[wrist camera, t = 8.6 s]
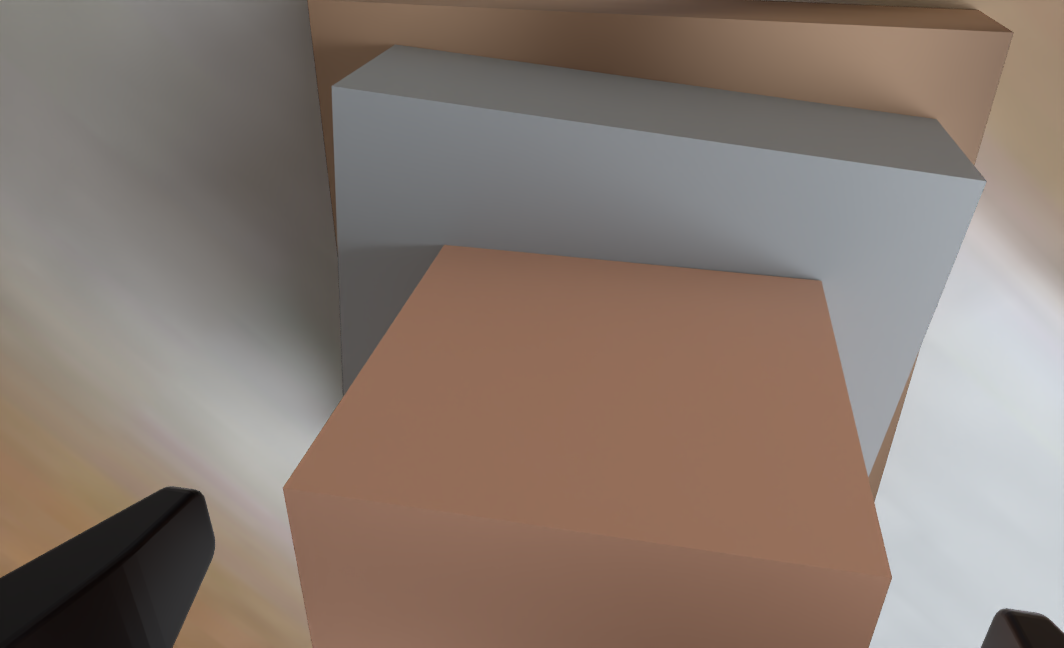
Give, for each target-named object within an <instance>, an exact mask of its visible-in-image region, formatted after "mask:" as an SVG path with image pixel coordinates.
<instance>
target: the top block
mask: <svg viewBox="0 0 1064 648" xmlns="http://www.w3.org/2000/svg"><path fill="white" fill-rule="evenodd" d="M332 111H333V138H334V165H335V192H336V218H337V245H338V272H339V299H340V325H341V352H342V379H343V397H344V395H345V394H346V392H347V391H348V389H349V388H350V386H351V385H352V383H353V381H354V380H355V378H356V377H357V375H358V374H359V372H360V371H361V369H362V368H363V366H364V365H365V363H366V362H367V360H368V359H369V357H370V356H371V354H372V353H373V351H374V350H375V348H376V347H377V345H378V344H379V342H380V341H381V339H382V338H383V336H384V335H385V333H386V332H387V330H388V329H389V327H390V326H391V324H392V323H393V321H394V320H395V318H396V317H397V315H398V314H399V312H400V311H401V309H402V308H403V306H404V305H405V303H406V302H407V300H408V299H409V297H410V296H411V294H412V293H413V291H414V290H415V288H416V287H417V285H418V284H419V282H420V281H421V279H422V278H423V276H424V275H425V273H426V271H427V270H428V268H429V267H430V265H431V264H432V262H433V261H434V259H435V258H436V256H437V255H438V253H439V252H440V250H441V249H442V247H443V246H444V245H451V246H462V247H473V248H484V249H494V250H505V251H515V252H526V253H536V254H547V255H557V256H568V257H578V258H589V259H599V260H610V261H620V262H631V263H641V264H651V265H662V266H672V267H683V268H693V269H704V270H714V271H725V272H735V273H746V274H756V275H767V276H777V277H788V278H798V279H808V280H819V281H822V285H823V289H824V293H825V298H826V302H827V306H828V310H829V314H830V319H831V323H832V327H833V331H834V336H835V340H836V344H837V348H838V352H839V357H840V361H841V365H842V369H843V373H844V378H845V382H846V386H847V390H848V395H849V399H850V403H851V407H852V411H853V416H854V420H855V424H856V428H857V433H858V437H859V441H860V445H861V449H862V454H863V458H864V462H865V466H866V470H867V475H868V477H869V475H870V472H871V470H872V467H873V465H874V462H875V460H876V457H877V455H878V452H879V450H880V447H881V445H882V442H883V440H884V437H885V435H886V432H887V430H888V427H889V425H890V422H891V420H892V417H893V415H894V412H895V410H896V407H897V405H898V402H899V400H900V397H901V395H902V392H903V390H904V387H905V385H906V382H907V380H908V377H909V375H910V372H911V370H912V367H913V364H914V362H915V359H916V357H917V354H918V352H919V349H920V347H921V344H922V342H923V339H924V337H925V334H926V332H927V329H928V327H929V324H930V322H931V319H932V317H933V314H934V312H935V309H936V307H937V304H938V302H939V299H940V297H941V294H942V292H943V289H944V287H945V284H946V282H947V279H948V277H949V274H950V272H951V269H952V267H953V264H954V262H955V259H956V257H957V254H958V252H959V249H960V247H961V244H962V242H963V239H964V237H965V234H966V232H967V229H968V227H969V224H970V222H971V219H972V217H973V214H974V212H975V209H976V207H977V204H978V202H979V199H980V197H981V194H982V192H983V189H984V187H985V184H986V182H987V181H986V180H985V179H984V177H983V176H982V175H981V174H980V172H979V171H978V170H977V169H976V167H975V166H974V165H973V164H972V163H971V161H970V160H969V159H968V158H967V156H966V155H965V154H964V153H963V151H962V150H961V149H960V148H959V146H958V145H957V144H956V143H955V141H954V140H953V139H952V138H951V136H950V135H949V134H948V133H947V132H946V130H945V129H944V128H943V127H942V125H941V124H940V123H939V122H938V120H937V119H931V118H924V117H917V116H909V115H902V114H895V113H888V112H880V111H873V110H866V109H859V108H851V107H844V106H837V105H830V104H823V103H815V102H808V101H801V100H794V99H786V98H779V97H772V96H765V95H757V94H750V93H743V92H736V91H728V90H721V89H714V88H707V87H699V86H692V85H685V84H678V83H670V82H663V81H656V80H649V79H641V78H634V77H627V76H620V75H612V74H605V73H598V72H591V71H583V70H576V69H569V68H562V67H554V66H547V65H540V64H533V63H525V62H518V61H511V60H504V59H497V58H489V57H482V56H475V55H468V54H460V53H453V52H446V51H439V50H431V49H424V48H417V47H410V46H402V45H394V46H392V47H391V48H389V49H388V50H386V51H385V52H383V53H381V54H380V55H378V56H377V57H375V58H374V59H372V60H371V61H369V62H368V63H366V64H365V65H363V66H362V67H360V68H359V69H357V70H355V71H354V72H352V73H351V74H349V75H348V76H346V77H345V78H343V79H342V80H340V81H339V82H337V83H336V84H334V85H333V86H332Z"/></svg>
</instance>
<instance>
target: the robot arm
mask: <svg viewBox="0 0 1064 648" xmlns="http://www.w3.org/2000/svg"><path fill="white" fill-rule="evenodd" d="M214 550H215V536H214V532H213V528H212V525H211V521H210V517H209V513H208V509H207V505H206V501H205V498H204V496H203V495H202V493H201V492H200V491H198V490H195V489H188V488H181V487H174V486H170V487H165V488H163V489H161V490H159V491H157V492H155V493H153V494H151V495H150V496H148V497H146V498H144V499H142V500H141V501H139V502H137V503H135V504H133V505H131V506H130V507H128V508H126V509H124V510H122V511H121V512H119V513H117V514H115V515H113V516H112V517H110V518H108V519H106V520H104V521H102V522H101V523H99V524H97V525H95V526H93V527H92V528H90V529H88V530H86V531H84V532H83V533H81V534H79V535H77V536H75V537H74V538H72V539H70V540H68V541H66V542H64V543H63V544H61V545H59V546H57V547H55V548H54V549H52V550H50V551H48V552H46V553H45V554H43V555H41V556H39V557H37V558H35V559H34V560H32V561H30V562H28V563H26V564H25V565H23V566H21V567H19V568H17V569H16V570H14V571H12V572H10V573H8V574H6V575H5V576H3V577H1V578H0V648H173V645H174V643H175V641H176V639H177V636H178V634H179V632H180V630H181V628H182V625H183V623H184V621H185V619H186V616H187V614H188V612H189V610H190V607H191V605H192V603H193V601H194V599H195V596H196V594H197V592H198V590H199V587H200V585H201V583H202V581H203V579H204V576H205V574H206V572H207V570H208V567H209V565H210V563H211V561H212V558H213V555H214ZM981 648H1064V633H1063V632H1062V631H1061V630H1060V629H1059V628H1058V627H1057V626H1056V625H1055V624H1054V623H1053V622H1052V621H1051V620H1050V619H1049V618H1047V617H1046V616H1044V615H1042V614H1039V613H1035V612H1028V611H1021V610H1014V609H1007V608H1006V609H1001V610H1000V611H998V612H997V613H996V615H995V616H994V618H993V621H992V623H991V625H990V628H989V630H988V632H987V634H986V637H985V639H984V641H983V644H982V646H981Z"/></svg>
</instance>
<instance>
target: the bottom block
mask: <svg viewBox="0 0 1064 648" xmlns="http://www.w3.org/2000/svg"><path fill="white" fill-rule="evenodd" d="M307 2H308V10H309V19H310V27H311V35H312V44H313V52H314V61H315V69H316V78H317V86H318V94H319V103H320V111H321V120H322V128H323V136H324V145H325V153H326V162H327V170H328V179H329V187H330V195H331V204H332V212H333V221H334V229H335V237H336V246H337V254H338V245H337V218H336V192H335V165H334V138H333V111H332V86H333V85H334V84H336V83H337V82H339V81H340V80H342V79H343V78H345V77H346V76H348V75H349V74H351V73H352V72H354V71H355V70H357V69H359V68H360V67H362V66H363V65H365V64H366V63H368V62H369V61H371V60H372V59H374V58H375V57H377V56H378V55H380V54H381V53H383V52H385V51H386V50H388V49H389V48H391V47H392V46H394V45H402V46H410V47H417V48H424V49H431V50H439V51H446V52H453V53H460V54H468V55H475V56H482V57H489V58H497V59H504V60H511V61H518V62H525V63H533V64H540V65H547V66H554V67H562V68H569V69H576V70H583V71H591V72H598V73H605V74H612V75H620V76H627V77H634V78H641V79H649V80H656V81H663V82H670V83H678V84H685V85H692V86H699V87H707V88H714V89H721V90H728V91H736V92H743V93H750V94H757V95H765V96H772V97H779V98H786V99H794V100H801V101H808V102H815V103H823V104H830V105H837V106H844V107H851V108H859V109H866V110H873V111H880V112H888V113H895V114H902V115H909V116H917V117H924V118H931V119H937V120H938V122H939V123H940V124H941V125H942V127H943V128H944V129H945V130H946V132H947V133H948V134H949V135H950V136H951V138H952V139H953V140H954V141H955V143H956V144H957V145H958V146H959V148H960V149H961V150H962V151H963V153H964V154H965V155H966V156H967V158H968V159H969V160H970V161H971V163H972V164H973V165H975V161H976V158H977V154H978V151H979V148H980V144H981V141H982V138H983V134H984V131H985V128H986V124H987V121H988V117H989V114H990V111H991V107H992V104H993V101H994V97H995V94H996V90H997V87H998V84H999V80H1000V77H1001V74H1002V70H1003V67H1004V64H1005V60H1006V57H1007V53H1008V50H1009V47H1010V43H1011V40H1012V37H1013V33H1014V32H1012V31H1010V30H1009V29H1007V28H1006V27H1004V26H1003V25H1001V24H999V23H998V22H996V21H995V20H993V19H992V18H990V17H988V16H987V15H985V14H984V13H982V12H981V11H979V10H968V9H945V8H922V7H899V6H876V5H853V4H830V3H807V2H784V1H761V0H307ZM919 350H920V349H919ZM918 353H919V352H918ZM917 357H918V354H917ZM917 357H916V359H915V362H914V364H913V367H912V370H911V372H910V375H909V377H908V380H907V382H906V385H905V387H904V390H903V392H902V395H901V397H900V400H899V402H898V405H897V407H896V410H895V412H894V415H893V417H892V420H891V422H890V425H889V427H888V430H887V432H886V435H885V437H884V440H883V442H882V445H881V447H880V450H879V452H878V455H877V457H876V460H875V462H874V465H873V467H872V470H871V472H870V475H869V477H868V479H869V483H870V487H871V492H872V496H873V500H874V501H875V498H876V495H877V491H878V488H879V485H880V481H881V478H882V474H883V471H884V468H885V464H886V461H887V458H888V454H889V451H890V447H891V444H892V441H893V437H894V434H895V431H896V427H897V424H898V421H899V417H900V414H901V410H902V407H903V404H904V400H905V397H906V394H907V390H908V387H909V383H910V380H911V377H912V373H913V370H914V367H915V363H916V360H917Z"/></svg>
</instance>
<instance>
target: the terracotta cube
mask: <svg viewBox="0 0 1064 648" xmlns="http://www.w3.org/2000/svg"><path fill="white" fill-rule="evenodd" d="M283 491H284V497H285V502H286V507H287V513H288V518H289V523H290V529H291V534H292V539H293V545H294V550H295V555H296V561H297V566H298V571H299V577H300V582H301V588H302V593H303V598H304V604H305V609H306V614H307V620H308V625H309V630H310V636H311V641H312V646H313V648H869V645H870V642H871V639H872V636H873V633H874V630H875V627H876V624H877V621H878V618H879V615H880V612H881V609H882V606H883V603H884V600H885V597H886V594H887V591H888V588H889V585H890V582H891V579H892V576H891V572H890V567H889V563H888V559H887V555H886V551H885V546H884V542H883V538H882V534H881V529H880V525H879V521H878V517H877V513H876V508H875V504H874V500H873V496H872V492H871V487H870V483H869V479H868V475H867V470H866V466H865V462H864V458H863V454H862V449H861V445H860V441H859V437H858V433H857V428H856V424H855V420H854V416H853V411H852V407H851V403H850V399H849V395H848V390H847V386H846V382H845V378H844V373H843V369H842V365H841V361H840V357H839V352H838V348H837V344H836V340H835V336H834V331H833V327H832V323H831V319H830V314H829V310H828V306H827V302H826V298H825V293H824V289H823V285H822V281H819V280H808V279H798V278H788V277H777V276H767V275H756V274H746V273H735V272H725V271H714V270H704V269H693V268H683V267H672V266H662V265H651V264H641V263H631V262H620V261H610V260H599V259H589V258H578V257H568V256H557V255H547V254H536V253H526V252H515V251H505V250H494V249H484V248H473V247H462V246H451V245H444V246H443V247H442V249H441V250H440V252H439V253H438V255H437V256H436V258H435V259H434V261H433V262H432V264H431V265H430V267H429V268H428V270H427V271H426V273H425V275H424V276H423V278H422V279H421V281H420V282H419V284H418V285H417V287H416V288H415V290H414V291H413V293H412V294H411V296H410V297H409V299H408V300H407V302H406V303H405V305H404V306H403V308H402V309H401V311H400V312H399V314H398V315H397V317H396V318H395V320H394V321H393V323H392V324H391V326H390V327H389V329H388V330H387V332H386V333H385V335H384V336H383V338H382V339H381V341H380V342H379V344H378V345H377V347H376V348H375V350H374V351H373V353H372V354H371V356H370V357H369V359H368V360H367V362H366V363H365V365H364V366H363V368H362V369H361V371H360V372H359V374H358V375H357V377H356V378H355V380H354V381H353V383H352V385H351V386H350V388H349V389H348V391H347V392H346V394H345V395H344V397H343V398H342V400H341V401H340V403H339V404H338V406H337V407H336V409H335V410H334V412H333V413H332V415H331V416H330V418H329V419H328V421H327V422H326V424H325V425H324V427H323V428H322V430H321V431H320V433H319V434H318V436H317V437H316V439H315V440H314V442H313V443H312V445H311V446H310V448H309V449H308V451H307V452H306V454H305V455H304V457H303V458H302V460H301V461H300V463H299V464H298V466H297V467H296V469H295V470H294V472H293V473H292V475H291V476H290V478H289V479H288V481H287V482H286V484H285V485H284V487H283Z"/></svg>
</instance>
